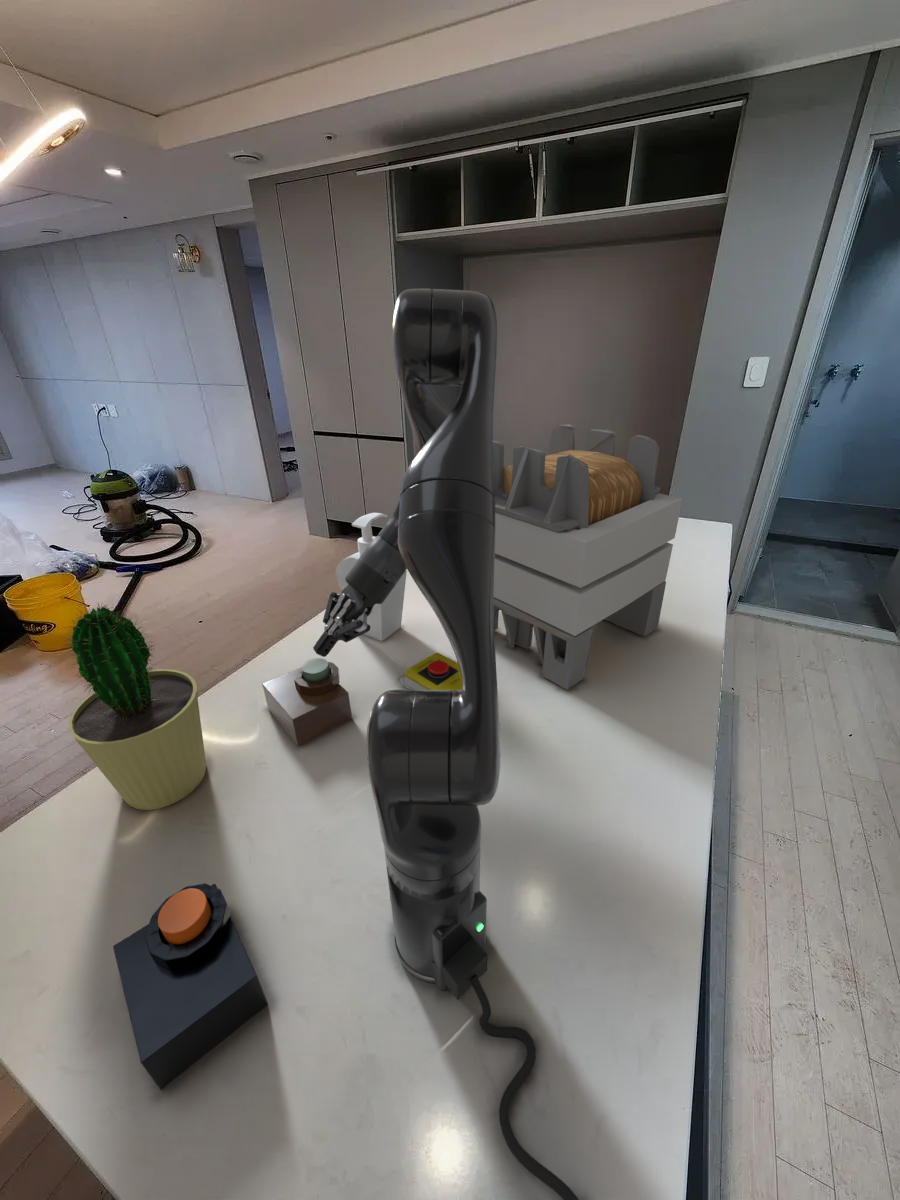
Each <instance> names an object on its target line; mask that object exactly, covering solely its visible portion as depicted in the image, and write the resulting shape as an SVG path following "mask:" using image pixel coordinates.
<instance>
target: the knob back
mask: <svg viewBox="0 0 900 1200" xmlns="http://www.w3.org/2000/svg"><path fill="white" fill-rule="evenodd" d="M328 662H329V661H328V660H326V659H325V658H322V657H315V658H311V659H309V660H306V661H305V662H304V663H303V664H302V665H301V667H302V672H303V677H304V680H305V681H306V682H310V683H316V682H321V681H323V680H325V679H327V678H328V677H329V675H330V670H329V664H328Z"/></svg>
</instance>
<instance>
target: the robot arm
mask: <svg viewBox="0 0 900 1200" xmlns="http://www.w3.org/2000/svg"><path fill="white" fill-rule="evenodd" d="M495 307H496V306H495V305H494V302H493V300H492V298H491V297H490V296H489V295H488V294H486V293H485V292H481V291H477V290H471V289H446V288H430V287H427V288H426V287H421V288H419V287H418V288H407V289H404V290H402V291H401V292H400V293H399V295H398V296H397V299H396V301H395V304H394V309H393V318H392V351H393V352H392V353H393V359H394V364H395V372H396V375H397V379H398V383H399V388H400V392H401V396H402V400H403V405H404V409H405V412H406V415H407V418H408V422H409V425H410V430H411V434H412V435H411V436H412V447H413V459H412V461H411V462H410V463H409V466H408V467H407V469H406V470H405V472H404V475H403V477H402V480H401V484H400V489H399V499H398V501H397V503H396V506H395V508H394V510H393V512H392V513H391V516H390V517H389V519H388V520H387V522H386V523H385V524H384V526H383V527H382V529H381V530H380V531H379V533H378V535H377V536H375V537H376V538H375V539H374V540H373V541H372V542H371V543H370V544H369V545H368V547H367V548H366V549H365V551H364V552H363V554H362V555H361V556H360V558H359V559H358V561H357V562H356V563H355V565H354V566H353V568H352V569H351V570H350V572H349V573H348V574H347V576H346V578H345V580H346V582H347V583H348V586H346V587H345V588H344V589H343V590H342V592H341V591H340V592H339V593H337V592H335V591H331V592H330V594H329V597H328V599H327V604H326V607H325V612H324V615H323V618H322V623H324V625H325V626H324V627H323V629H324V631H323V632H322V634H321V636H320V637H319V638H318V640H317V641H316V642H315V644H314V646H312V647H313V648H312V649H313V652H315V654H316V655H317V656H320V657H323V658H325V657H328V655H329V654H330V652H331V651H332V649H333V648H334V647H335V645H336V644H337V643H338V642H339V641H343V642H345V643H349V642H351V641H353V640H355V639H356V638H359V637H360V636H363V635H364V633H366V632H368V631H369V630H370V628H371V626H370V625H368V624H367V616H369V615H370V613H371V611H372V608H373V606H374V605H375V604H382V603H383V602H384V601H385V599H386V598H387V597H388V595H389V594H390V592H391V591H392V590H393V588H394V587H395V585H396V584H397V583H398V581H399V580H400V578H401V577H402V576H403V574H404V573H405V571H407V572H408V574H409V575H410V576H411V578H412V580H413V582H414V583H415V584H416V586H417V588H418V589H419V591H420V592H421V594H422V595H423V597H424V599H425V600H426V602H427V603H428V604H429V606H430V607H431V609H432V611H433V612H434V614H435V616H436V617H437V620H438V621H439V623H440V625H441V627H442V629H443V631H444V633H445V635H446V637H447V639H448V642H449V643H450V646H451V649H452V650H453V652H454V656H455V658H456V660H457V661H456V662H457V663H458V665H459V668H460V671H461V676H462V682H463V685H462V688H461V690H458V691H457V690H454V691H453V692H452V690H409V689H389V690H387V691H384V692H383V693H381V694H380V695H379V696H378V697H377V699H376V700H375V701H374V703H373V705H372V708H371V710H370V713H369V717H368V721H367V729H366V759H367V761H366V762H367V768H368V774H369V775H368V776H369V780H370V781H369V782H370V785H371V790H372V795H373V800H374V805H375V809H376V813H377V818H378V824H379V825H378V826H379V832H380V836H381V840H382V843H383V849H384V856H385V864H386V873H387V874H386V875H387V881H388V890H389V899H390V905H391V914H392V915H391V916H392V922H393V930H394V945H395V950H396V954H397V956H398V959H399V961H400V963H401V965H402V966H403V967H404V969H405V970H406V971H407V972H408V973H410V974H411V975H412V976H413V977H415V978H417V979H419V980H420V981H423V982H427V983H434V984H435V985H436V986H437V987H438V988H439V990H440V991H442V992H443V991H446V989H447V988H448V989H449V991H450V993H452V995H453V996H454V998H455V999H456V1000H457V1001H459V1000H460V998H461V997H463V996H464V995H465V994H466V993H467V991H469V990H470V989H471V988H473V990H474V993H475V996H477V999H478V1001H479V1004H480V1006H481V1011H482V1013H481V1014H480V1017H479V1020H478V1021H479V1022H478V1023H479V1027H480V1029H481V1030H482V1031H483V1032H484V1033H486V1034H487V1035H489V1036H492V1037H498V1038H516V1039H520V1040H521V1041H522V1042H523V1043H524V1045H525V1048H526V1057H525V1061H524V1063H523V1064H522V1066H521V1067H520V1068H519V1070H518V1071H517V1073H516V1074H515V1075H514V1077H513V1078H512V1079H511V1080H510V1082H509V1083H508V1085H507V1086H506V1088H505V1090H504V1092H503V1094H502V1095H501V1096H502V1097H501V1099H500V1102H499V1109H498V1117H499V1118H498V1119H499V1125H500V1129H501V1133H502V1136H503V1139H504V1141H505V1143H506V1145H507V1147H508V1149H509V1150H510V1152H511V1153H512V1155H513V1156H514V1157H515V1158H516V1160H517V1161H518V1162H519V1163H520V1164H521V1165H522V1166H523V1167H524V1168H525V1169H526V1170H527V1171H529V1173H531V1174H532V1175H534V1177H536V1179H538V1180H540V1181H541V1182H542V1183H543V1184H545V1185H546V1186H547V1187H549V1188H550V1189H551V1190H552V1191H554V1192H555V1193H556V1194H557V1196H559V1197H560V1199H562V1200H579V1197H578V1196H577V1195H576V1194H575V1193H574V1191H573V1190H572V1189H571V1188H570V1186H568V1185H567V1184H566V1183H565V1182H564V1181H563V1180H562V1179H560V1177H558V1176H557V1175H556V1174H554V1173H553V1172H552V1171H551V1170H549V1169H548V1168H547V1167H545V1166H544V1165H543V1164H541V1162H539V1161H538V1160H537V1159H535V1157H533V1156H531V1154H529V1152H527V1151H526V1150H525V1149H524V1147H523V1146H522V1145H521V1144H520V1143H519V1141H518V1139H517V1138H516V1135H515V1133H514V1132H513V1130H512V1126H511V1122H510V1118H509V1117H510V1115H509V1109H510V1105H511V1103H512V1100H513V1098H514V1097H515V1095H516V1093H517V1092H518V1090H519V1089H520V1088H521V1087H522V1085H523V1084H524V1083H525V1081H526V1080H527V1078H528V1077H529V1076H530V1074H531V1072H532V1070H533V1068H534V1066H535V1061H536V1059H537V1051H536V1050H537V1049H536V1045H535V1042H534V1039H533V1038H532V1036H531V1034H530V1032H528V1031H527V1030H526V1029H524V1028H521V1027H518V1026H507V1025H504V1026H500V1025H495V1024H494V1025H493V1024H492V1023H490V1022H489V1021H490V1019H491V1016H492V1009H491V1005H490V1002H489V998H488V996H487V994H486V992H485V990H484V987H483V986H482V984H481V982H480V979H481V977H483V975H484V974H485V973H487V971H488V961H489V960H488V959H489V955H488V953H487V952H486V940H487V939H486V938H487V937H486V935H487V904H488V899H487V897H486V896H485V895H484V893H483V892H482V891H481V854H482V853H481V850H482V848H481V847H482V846H481V845H482V817H481V813H480V810H479V807H478V806H484V805H487V804H490V802H491V801H492V800H493V799H494V797H495V796H496V793H497V790H498V787H499V781H500V774H501V753H502V752H501V751H502V750H501V726H500V725H501V723H500V709H499V708H500V707H499V692H498V691H499V690H498V675H497V659H496V644H495V643H496V642H495V641H496V640H495V630H494V614H493V601H494V563H495V485H494V460H493V441H494V426H493V425H494V404H495V386H496V371H497V356H498V355H497V354H498V352H497V351H498V321H497V319H498V318H497V313H496V308H495ZM431 386H448V387H461V390H460V392H459V395H458V397H457V400H456V401H455V404H454V405H453V407H452V409H451V410H449V408H448V407H447V405H445V404H444V403H443V401H441V399H440V398H439V397H438V395H437V394H436V392H435V391H434V389H433V388H432V387H431Z"/></svg>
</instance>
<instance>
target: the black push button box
mask: <svg viewBox="0 0 900 1200" xmlns="http://www.w3.org/2000/svg"><path fill="white" fill-rule="evenodd" d="M191 888H194V889H198V890H201V891H202V892H203V893H204V894H205V896H206V899H207V901H208V903H209V906H210V908H211V917H210V920H209V923H208V925H207V926H206V928H205V929H204V930H203V932H202V933H201V934H200V935H199V936H197V937H196V938H195V939H193V940H191V941H189V942H187V943H184V944H179V945H176V944H171V943H169V942H168V941H167V940H166V939H165V937H164V935H163V934H162V932H161V930H160V928H159V926H158V916H159V913H160V910H161V908H162V907H163V905H164V904H165V903H166V902H167V900H168V899H170V898H171V897H172V896H173V895H175V894H176V893H178V892H180V891H182V890H185V889H191ZM112 949H113V953H114V956H115V960H116V961H115V962H116V965H117V969H118V975H119V977H120V982H121V986H122V990H123V994H124V998H125V1003H126V1006H127V1011H128V1016H129V1019H130V1023H131V1029H132V1032H133V1036H134V1040H135V1044H136V1047H137V1048H136V1049H137V1052H138V1056H139V1057H138V1058H139V1061H140V1064H141V1065H142V1067H143V1068H144V1069H145V1071H146V1072H147V1074H148V1075H149V1076H150V1078H151V1079H152V1080H153V1082H154V1083H155V1085H156V1086H157V1087H158V1089H159V1090H160V1091H162V1090H163V1089H164V1088H166V1087H167V1086H168V1085H170V1083H172V1082H173V1081H175V1080H176V1079H178V1077H180V1076H181V1075H182V1074H183V1073H185V1072H186V1071H187V1070H188V1069H190V1068H191V1067H192V1066H193V1065H195V1064H196V1063H197V1062H198V1061H200V1060H201V1059H202V1058H203V1057H205V1056H206V1055H207V1054H209V1052H211V1051H212V1050H213V1049H215V1048H216V1047H217V1046H218V1045H219V1044H221V1043H222V1042H223V1041H225V1040H226V1039H227V1038H229V1037H230V1036H231V1035H232V1034H234V1033H235V1032H236V1031H238V1029H240V1028H241V1027H242V1026H244V1025H245V1024H246V1023H247V1022H248V1021H250V1020H251V1019H252V1018H253V1017H255V1016H256V1015H257V1014H259V1013H260V1012H261V1011H263V1010H264V1009H265V1008H266V1007H267V1006H268V1005H269V1003H268V1000H267V997H266V995H265V992H264V990H263V986H262V984H261V982H260V979H259V977H258V974H257V973H256V970H255V967H254V965H253V963H252V961H251V959H250V957H249V954H248V952H247V950H246V948H245V946H244V943H243V941H242V939H241V937H240V934H239V932H238V930H237V928H236V926H235V924H234V922H233V919H232V917H231V910H230V907H229V906H228V902H227V901H226V898H225V896H224V894H223V892H222V889H220V888H219V887H218V886H217V884H216V883H215V882H214V883H212V884H209V883H205V882H204V883H199V884H194V885H187V886H185V887H183V888H182V889H180V890H178V891H176V892H175V893H173V894H172V895H170V896H168V897H167V898H165V900H164V901H163V902H162V903H161V905H159V907H158V908H157V909H156V910H155V912H154V913H153V914H152V915H151V917H150V920H149V923H148V924H146V925H144V926H143V927H141V928H140V929H138V930H136V931H135V932H133V933H132V934H130V935H129V936H127V937H125V938H123V939H122V940H120V941H119V942H117V943H116V944H114V945H113V946H112Z"/></svg>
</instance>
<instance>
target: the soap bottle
mask: <svg viewBox="0 0 900 1200" xmlns="http://www.w3.org/2000/svg"><path fill="white" fill-rule="evenodd" d="M379 518H388V514H385V513H381V512H370V513H366V514H364V515H361V516H360V517H358V518H356V519H355V520H354V521H353V522H352V523H351V526H352V527H354V528H358V529H361V537H359V538H357V549H358V552H355V553H353V554H351V555H349V556H347V557H346V558H343V559H342V560H341V561H340V562H339V563H338V564H337V566H336V569H335V576H336V579H337V583H338V586H339V590H340V593H341V592H342V590H343V589H344V588H345V587H346V586H348V583H347V582H346V580H345V578H346V576H347V574H348V573H349V572H350V570H351V569H352V568H353V566H354V565H355V563H356V562H357V561H358V559H359V558H360V556H361V555H362V554H363V552H364V551H365V549H366V548H367V547H368V545H369V544H370V543H371V542H372V541H373V540H374V539H375V538H376V537H377V536H375V535H373V529H372V522H374V521H375V520H377V519H379ZM407 572H408V570H406V571H405V573H404V574H403V576H402V577H401V578H400V580H399V581H398V583H397V584H396V585H395V587H394V588H393V590H392V591H391V592H390V594H389V595H388V597H387V598H386V599H385V601H384V602H383V603H382V604H375V605H374V606H373V608H372V611H371V613H370V615H369V616H367V624H368V625H370V626H371V628H370V630H369V631H368V632H366V633H364V634H363V635H364V636H367V637H370V638H372V639H374V640H378V641H379V642H383V641H384V640H386V639H387V638H388V637H390V636H391V635H393V634H394V633H395V632H396V631H398V630H400V629H401V627H402V621H403V611H404V600H405V592H406V580H407Z"/></svg>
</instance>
